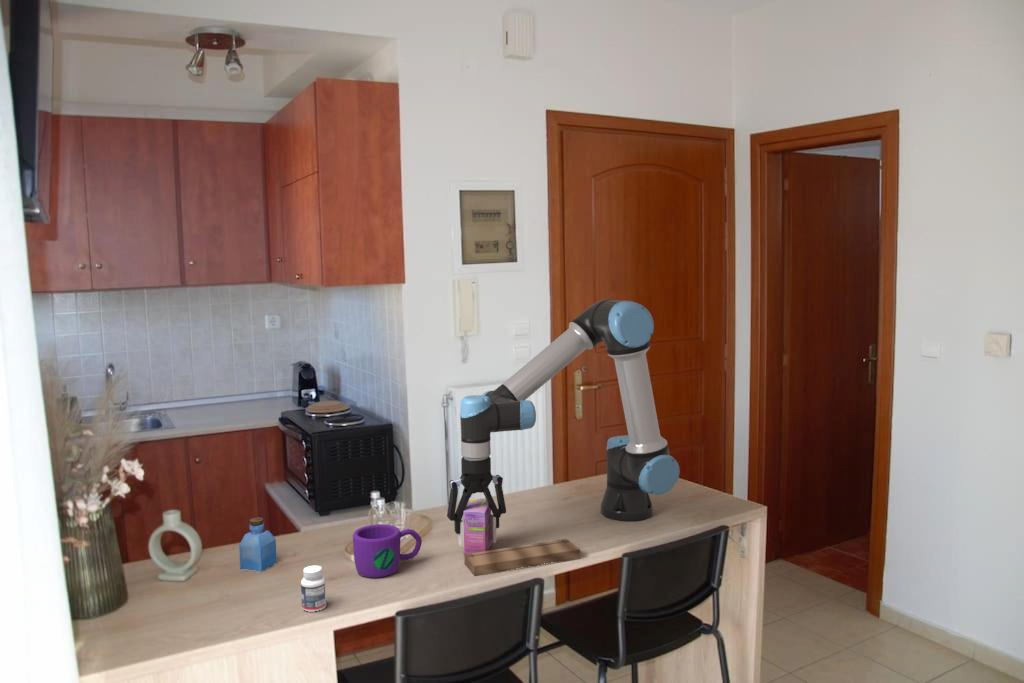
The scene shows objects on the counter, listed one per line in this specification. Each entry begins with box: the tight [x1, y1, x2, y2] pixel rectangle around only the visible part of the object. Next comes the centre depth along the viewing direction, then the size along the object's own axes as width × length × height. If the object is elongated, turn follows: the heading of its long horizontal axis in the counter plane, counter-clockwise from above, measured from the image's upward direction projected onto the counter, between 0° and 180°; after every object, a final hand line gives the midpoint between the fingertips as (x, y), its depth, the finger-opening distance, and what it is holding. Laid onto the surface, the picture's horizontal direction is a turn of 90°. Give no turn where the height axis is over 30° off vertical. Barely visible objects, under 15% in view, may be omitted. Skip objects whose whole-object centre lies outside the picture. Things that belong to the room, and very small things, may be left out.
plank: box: [463, 538, 581, 577], centre depth 200 cm, size 28×8×3 cm, turn 111°
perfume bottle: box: [238, 517, 278, 572], centre depth 198 cm, size 6×6×12 cm
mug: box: [352, 523, 423, 579], centre depth 196 cm, size 17×11×10 cm, turn 119°
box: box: [462, 498, 492, 555], centre depth 206 cm, size 10×6×12 cm, turn 173°
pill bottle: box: [300, 564, 327, 613], centre depth 175 cm, size 5×5×9 cm
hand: (477, 542), depth 205 cm, fingers closed on box, 8 cm apart
